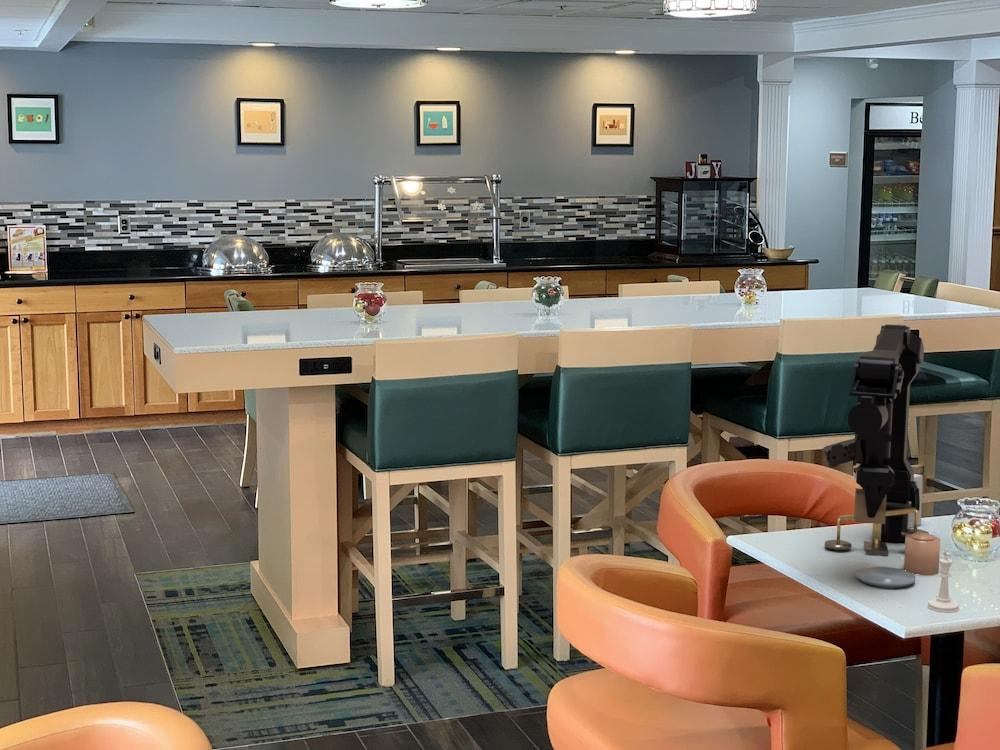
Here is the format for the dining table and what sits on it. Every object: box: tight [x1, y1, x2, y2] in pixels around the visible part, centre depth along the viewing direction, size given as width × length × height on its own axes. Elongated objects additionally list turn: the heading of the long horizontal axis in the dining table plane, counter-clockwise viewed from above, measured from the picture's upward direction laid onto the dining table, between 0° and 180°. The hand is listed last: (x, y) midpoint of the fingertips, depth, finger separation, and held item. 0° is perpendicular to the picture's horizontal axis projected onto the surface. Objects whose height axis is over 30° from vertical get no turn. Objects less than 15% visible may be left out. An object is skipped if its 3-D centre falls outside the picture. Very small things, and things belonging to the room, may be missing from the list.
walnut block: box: [853, 487, 886, 524], centre depth 229 cm, size 5×5×5 cm
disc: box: [855, 566, 916, 589], centre depth 228 cm, size 10×10×1 cm
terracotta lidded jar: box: [903, 533, 941, 576], centre depth 234 cm, size 6×6×6 cm
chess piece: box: [927, 548, 960, 613], centre depth 213 cm, size 5×5×10 cm
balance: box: [824, 507, 930, 557], centre depth 246 cm, size 6×19×9 cm, turn 79°
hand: (870, 514), depth 229 cm, fingers closed on walnut block, 5 cm apart
